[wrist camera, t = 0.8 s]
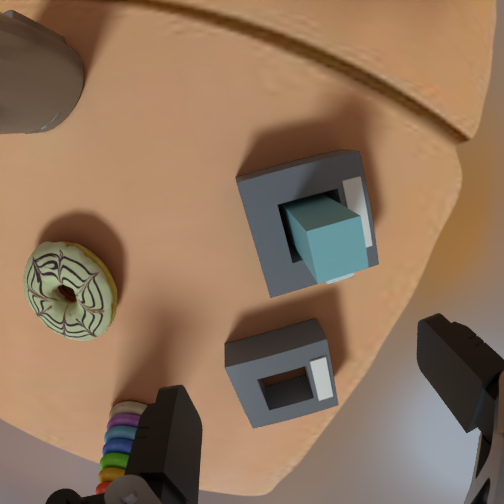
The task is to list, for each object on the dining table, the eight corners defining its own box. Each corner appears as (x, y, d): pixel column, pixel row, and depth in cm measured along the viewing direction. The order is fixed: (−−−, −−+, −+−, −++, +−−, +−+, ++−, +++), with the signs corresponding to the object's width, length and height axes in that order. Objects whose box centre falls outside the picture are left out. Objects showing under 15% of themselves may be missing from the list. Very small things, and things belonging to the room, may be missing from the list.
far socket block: (224, 343, 33) (224, 368, 29) (316, 317, 33) (327, 340, 29) (250, 404, 36) (253, 429, 32) (329, 382, 36) (338, 406, 32)
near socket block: (235, 177, 28) (236, 182, 24) (342, 149, 27) (360, 151, 23) (265, 278, 31) (270, 299, 27) (362, 249, 31) (379, 265, 27)
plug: (280, 201, 29) (306, 231, 19) (317, 191, 28) (360, 215, 19) (291, 246, 30) (320, 294, 21) (327, 235, 30) (370, 278, 20)
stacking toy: (153, 395, 35) (126, 530, 17) (177, 433, 38) (166, 554, 20) (100, 400, 35) (59, 519, 17) (128, 437, 38) (104, 547, 20)
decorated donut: (35, 225, 27) (16, 236, 24) (126, 247, 29) (114, 261, 25) (37, 312, 31) (22, 328, 27) (119, 336, 32) (109, 356, 28)
